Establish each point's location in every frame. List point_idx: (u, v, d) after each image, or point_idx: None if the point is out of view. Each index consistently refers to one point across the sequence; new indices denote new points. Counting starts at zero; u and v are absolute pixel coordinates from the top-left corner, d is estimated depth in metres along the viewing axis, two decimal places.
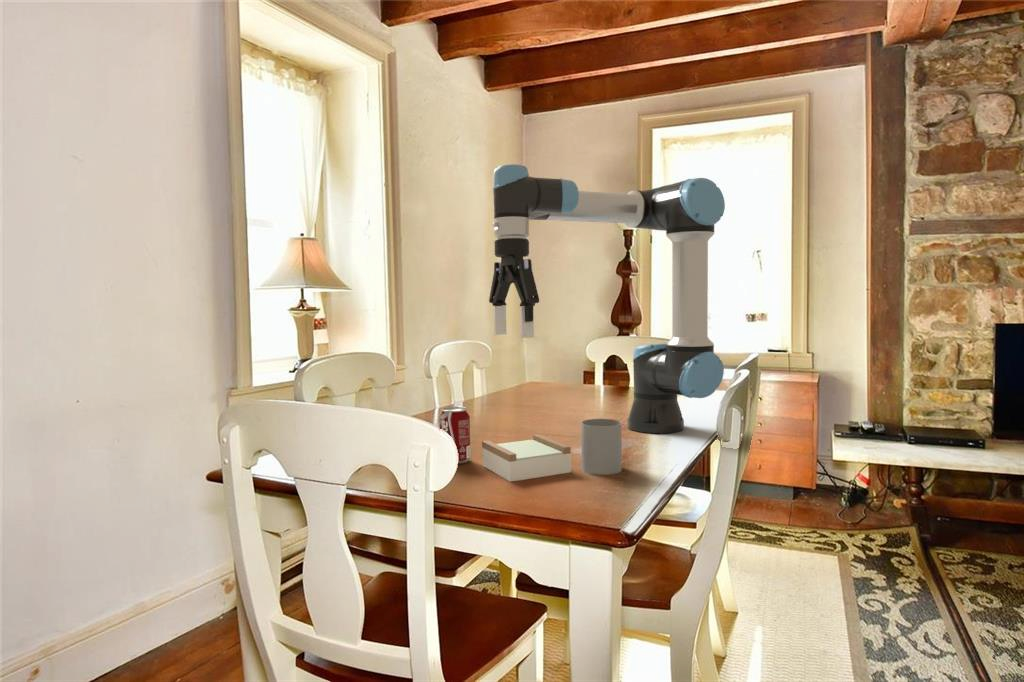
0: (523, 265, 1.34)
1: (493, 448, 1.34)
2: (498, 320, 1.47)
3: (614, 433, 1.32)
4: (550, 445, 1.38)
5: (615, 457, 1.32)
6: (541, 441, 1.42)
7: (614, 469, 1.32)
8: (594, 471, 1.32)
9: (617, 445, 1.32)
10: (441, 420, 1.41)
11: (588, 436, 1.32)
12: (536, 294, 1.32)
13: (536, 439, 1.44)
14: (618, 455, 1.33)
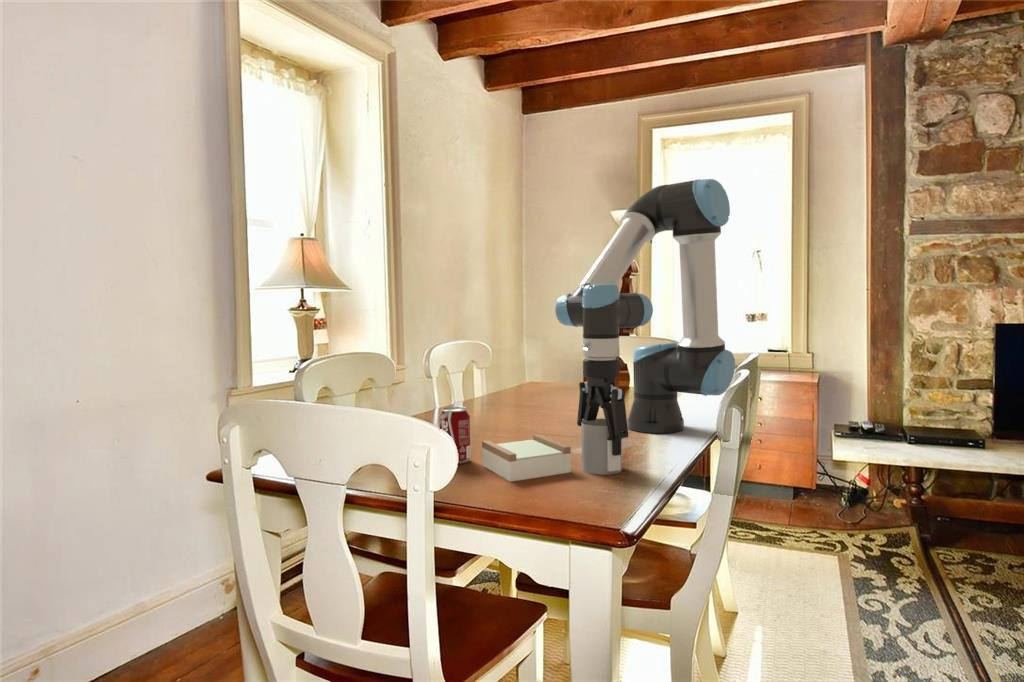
0: (617, 396, 1.28)
1: (493, 448, 1.34)
2: None
3: (614, 433, 1.32)
4: (550, 445, 1.38)
5: None
6: (541, 441, 1.42)
7: None
8: (594, 471, 1.32)
9: None
10: (441, 420, 1.41)
11: (588, 436, 1.32)
12: (626, 429, 1.29)
13: (536, 439, 1.44)
14: None
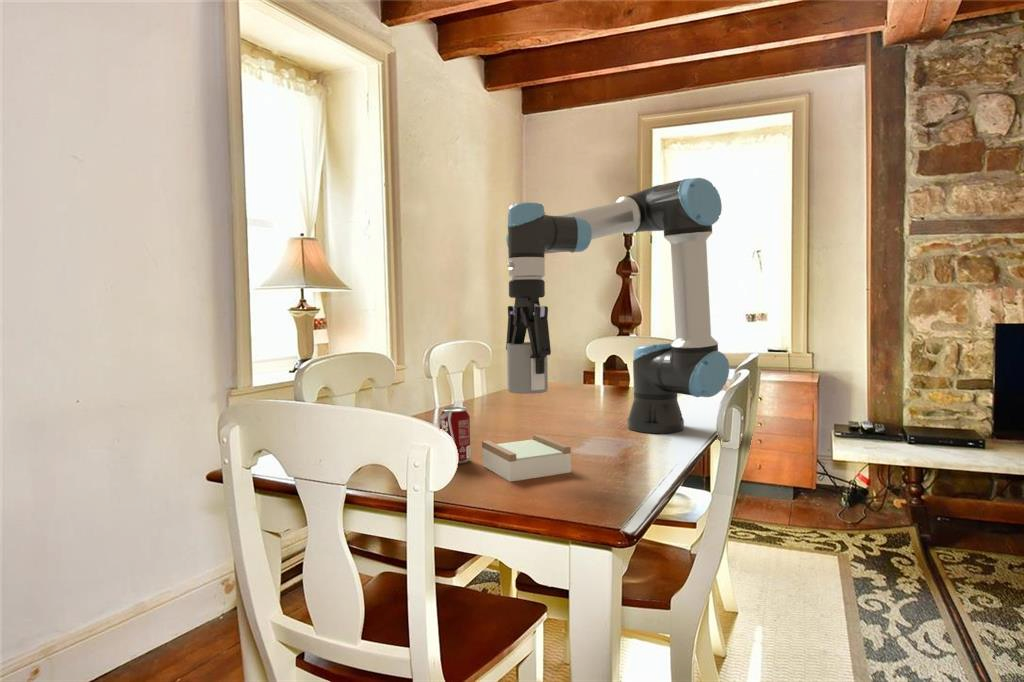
0: (539, 313, 1.28)
1: (493, 448, 1.34)
2: None
3: None
4: (550, 445, 1.38)
5: None
6: (541, 441, 1.42)
7: None
8: (518, 390, 1.32)
9: None
10: (441, 420, 1.41)
11: (513, 355, 1.32)
12: (548, 346, 1.28)
13: (536, 439, 1.44)
14: None
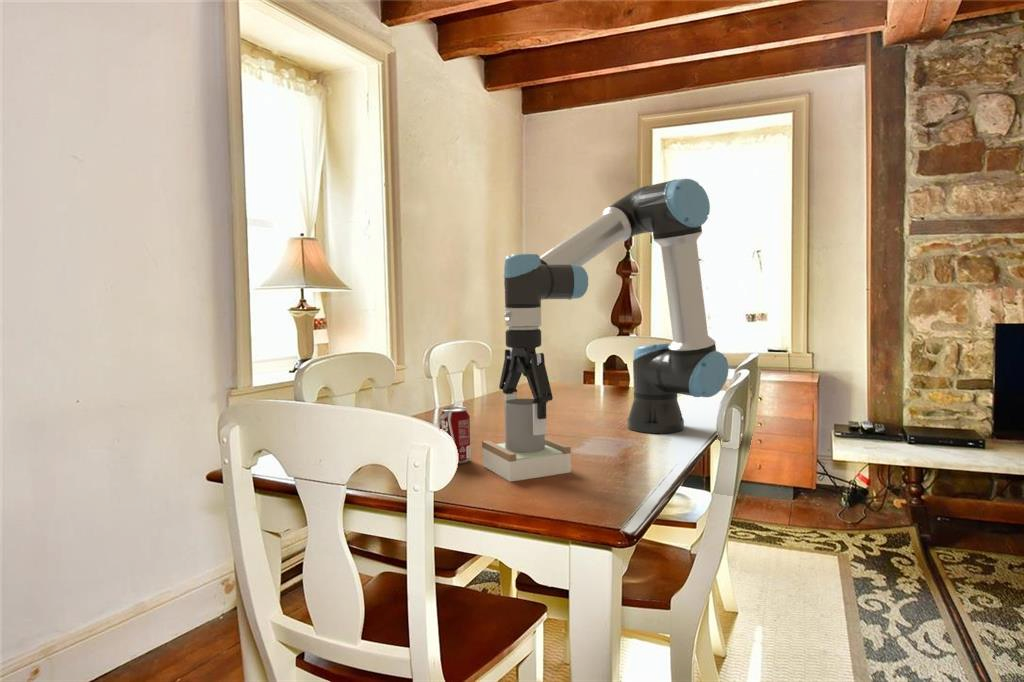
0: (536, 360, 1.29)
1: (493, 448, 1.34)
2: None
3: None
4: (550, 445, 1.38)
5: (536, 436, 1.33)
6: None
7: (535, 447, 1.33)
8: (515, 449, 1.33)
9: None
10: (441, 420, 1.41)
11: (510, 415, 1.33)
12: (549, 391, 1.27)
13: None
14: None
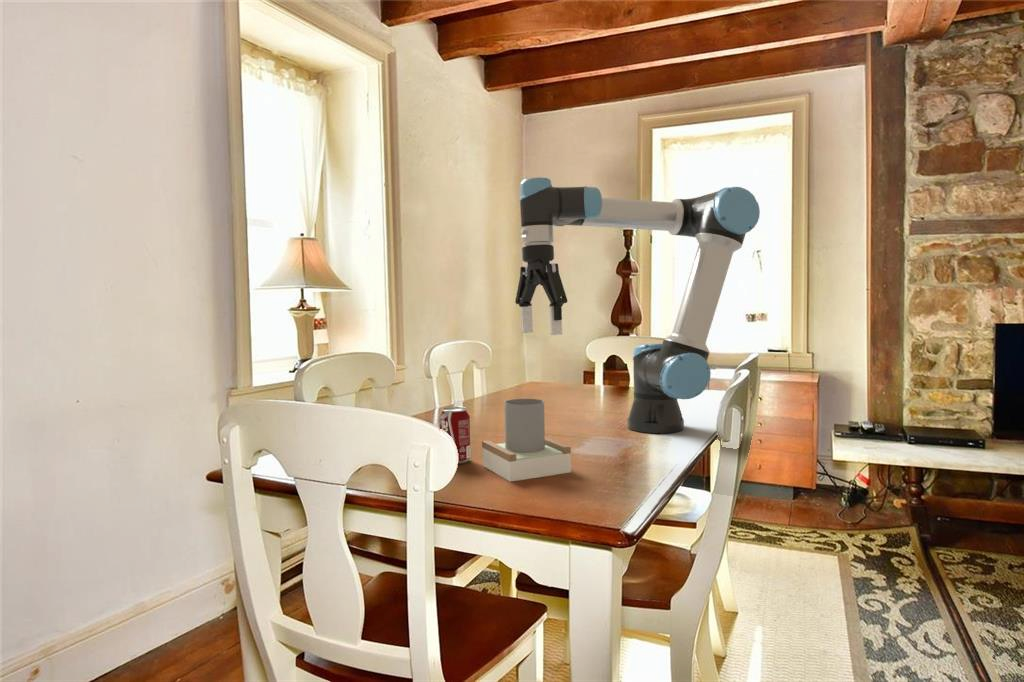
0: (551, 269, 1.47)
1: (493, 448, 1.34)
2: (525, 319, 1.60)
3: (535, 412, 1.33)
4: (550, 445, 1.38)
5: (536, 436, 1.33)
6: None
7: (535, 447, 1.33)
8: (515, 449, 1.33)
9: (538, 424, 1.33)
10: (441, 420, 1.41)
11: (510, 415, 1.33)
12: (564, 295, 1.46)
13: None
14: (539, 434, 1.34)
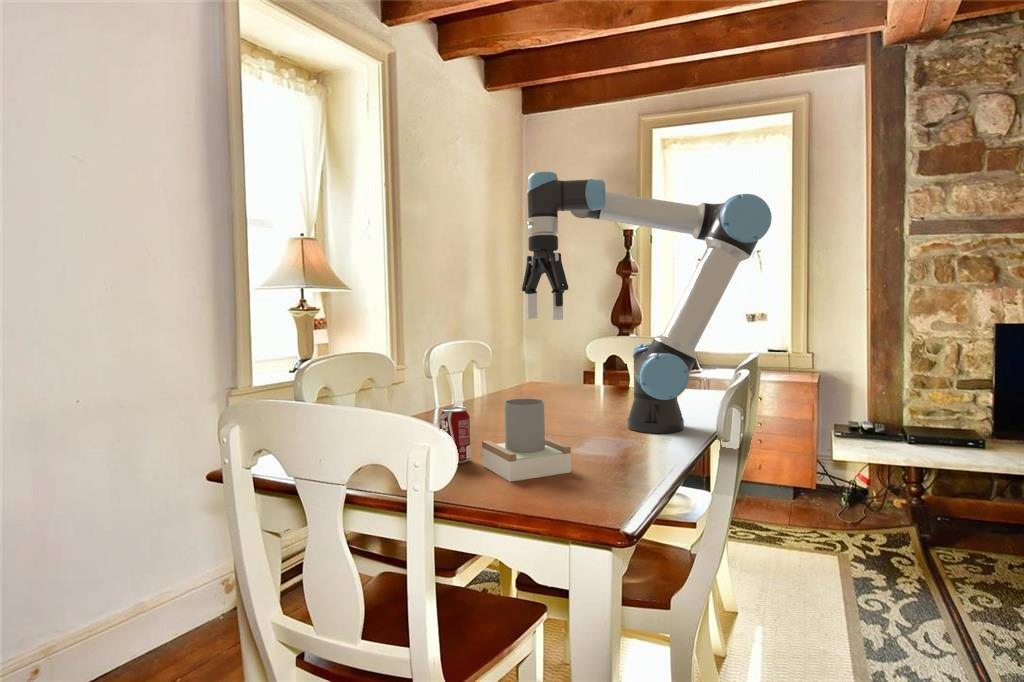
0: (554, 257, 1.57)
1: (493, 448, 1.34)
2: (530, 306, 1.69)
3: (535, 412, 1.33)
4: (550, 445, 1.38)
5: (536, 436, 1.33)
6: None
7: (535, 447, 1.33)
8: (515, 449, 1.33)
9: (538, 424, 1.33)
10: (441, 420, 1.41)
11: (510, 415, 1.33)
12: (565, 282, 1.55)
13: None
14: (539, 434, 1.34)
